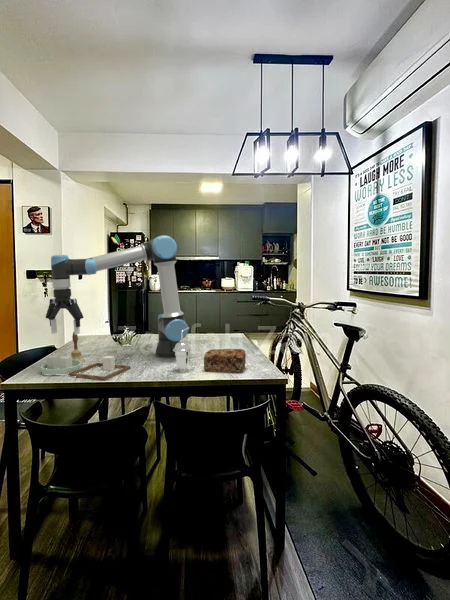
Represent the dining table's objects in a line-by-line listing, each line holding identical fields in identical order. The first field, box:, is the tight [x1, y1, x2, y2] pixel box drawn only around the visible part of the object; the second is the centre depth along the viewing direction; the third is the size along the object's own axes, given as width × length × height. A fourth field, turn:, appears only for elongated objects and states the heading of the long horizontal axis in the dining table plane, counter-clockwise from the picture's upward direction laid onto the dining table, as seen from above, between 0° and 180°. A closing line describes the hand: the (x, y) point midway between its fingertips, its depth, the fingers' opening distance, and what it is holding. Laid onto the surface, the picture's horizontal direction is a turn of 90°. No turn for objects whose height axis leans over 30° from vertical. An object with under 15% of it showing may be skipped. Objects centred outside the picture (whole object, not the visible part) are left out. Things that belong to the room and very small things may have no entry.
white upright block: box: [102, 355, 116, 371], centre depth 172 cm, size 4×4×6 cm
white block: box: [59, 355, 72, 369], centre depth 169 cm, size 4×4×6 cm
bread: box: [203, 348, 247, 374], centre depth 169 cm, size 19×11×10 cm, turn 78°
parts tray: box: [68, 362, 131, 381], centre depth 166 cm, size 20×19×2 cm
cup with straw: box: [173, 326, 192, 373], centre depth 168 cm, size 8×9×20 cm
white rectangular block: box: [46, 354, 61, 369], centre depth 171 cm, size 4×4×6 cm
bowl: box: [39, 360, 84, 375], centre depth 170 cm, size 18×18×3 cm
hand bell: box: [70, 331, 86, 363], centre depth 187 cm, size 8×8×16 cm
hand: (65, 333), depth 168 cm, fingers open, 13 cm apart
